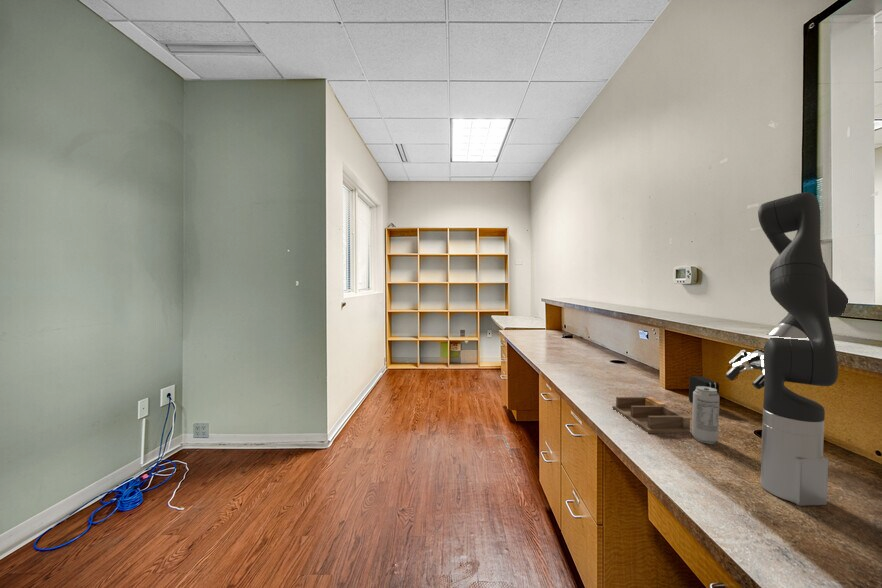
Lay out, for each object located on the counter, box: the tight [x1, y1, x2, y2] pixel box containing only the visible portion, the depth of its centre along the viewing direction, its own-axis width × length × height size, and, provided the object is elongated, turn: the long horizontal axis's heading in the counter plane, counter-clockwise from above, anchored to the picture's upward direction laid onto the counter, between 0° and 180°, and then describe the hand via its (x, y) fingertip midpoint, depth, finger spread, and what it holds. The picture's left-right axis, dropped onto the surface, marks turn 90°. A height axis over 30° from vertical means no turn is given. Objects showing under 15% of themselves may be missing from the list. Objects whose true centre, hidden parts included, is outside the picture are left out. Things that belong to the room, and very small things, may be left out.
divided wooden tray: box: [611, 395, 691, 434], centre depth 114 cm, size 20×13×5 cm, turn 3°
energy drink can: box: [691, 386, 720, 445], centre depth 100 cm, size 6×6×15 cm
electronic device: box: [688, 375, 720, 404], centre depth 128 cm, size 4×10×10 cm, turn 174°
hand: (741, 382), depth 100 cm, fingers open, 8 cm apart
